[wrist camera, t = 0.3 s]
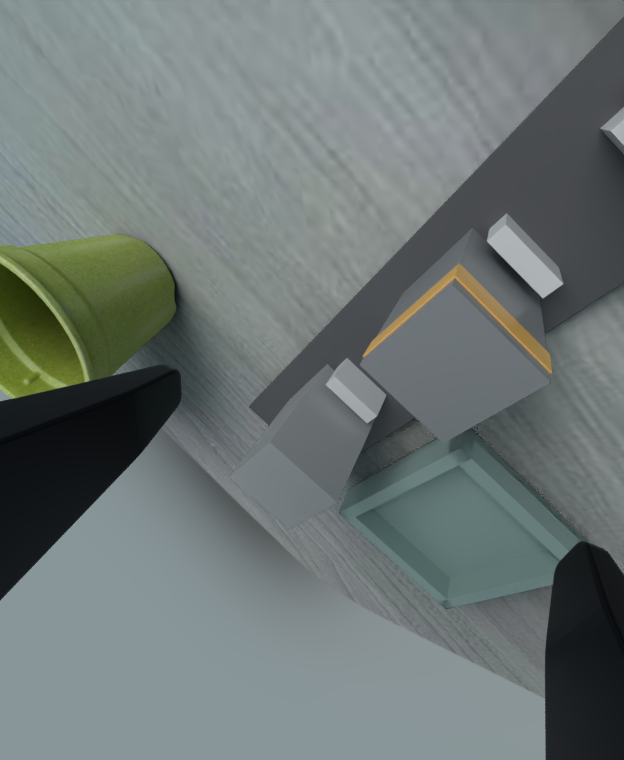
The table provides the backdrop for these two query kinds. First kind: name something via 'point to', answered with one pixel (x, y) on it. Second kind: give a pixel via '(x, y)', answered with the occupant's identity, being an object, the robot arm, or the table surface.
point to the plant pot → (78, 310)
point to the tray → (461, 522)
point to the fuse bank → (441, 232)
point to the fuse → (462, 341)
